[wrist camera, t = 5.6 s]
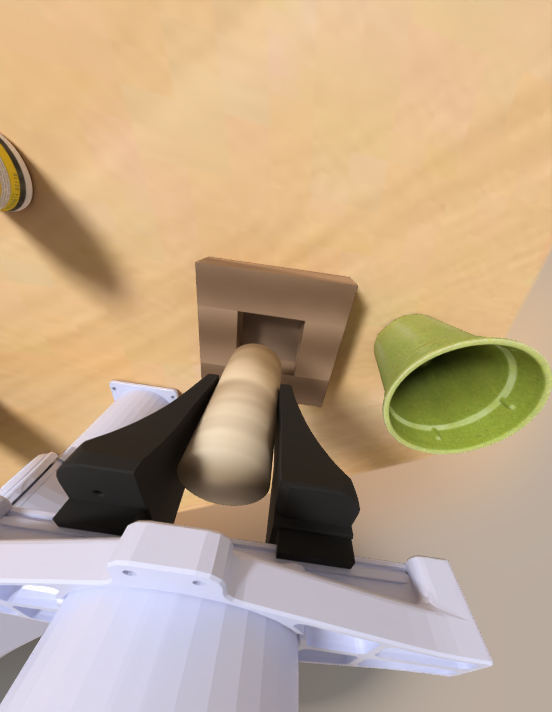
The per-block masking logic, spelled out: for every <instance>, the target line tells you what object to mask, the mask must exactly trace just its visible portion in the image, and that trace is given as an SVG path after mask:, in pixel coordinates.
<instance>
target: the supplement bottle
mask: <svg viewBox="0 0 552 712" xmlns="http://www.w3.org/2000/svg"><path fill="white" fill-rule="evenodd" d="M32 192H33V189H32V181H31V177H30V174H29V172H28V169H27V167H26V165H25V163H24V161H23V160H22V158H21V156H20V155H19V153H18V152H17V150H16V149H15V148H14V146H13V145H12V144H11V143H10V142H9V141H8V140H7V139H6V138H5V137H4V136H3V135H2V134H0V211H4V212H16V211H20V210H23V209H24V208H26V207H27V206H28V205H29V203H30V202H31V199H32Z"/></svg>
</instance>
